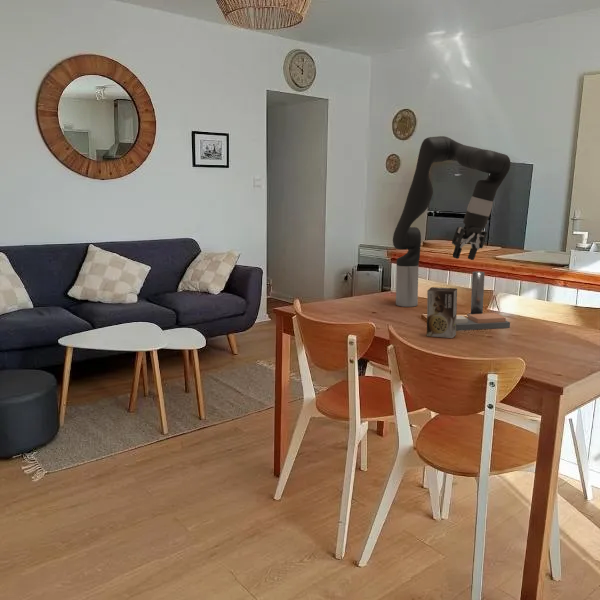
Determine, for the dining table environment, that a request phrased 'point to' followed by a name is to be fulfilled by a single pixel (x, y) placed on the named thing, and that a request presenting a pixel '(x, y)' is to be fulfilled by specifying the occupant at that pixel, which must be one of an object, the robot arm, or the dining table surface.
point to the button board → (481, 325)
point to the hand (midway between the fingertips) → (463, 258)
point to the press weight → (477, 292)
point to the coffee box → (441, 312)
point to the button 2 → (486, 318)
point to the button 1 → (461, 319)
